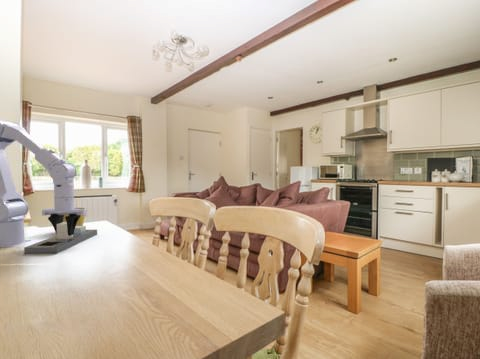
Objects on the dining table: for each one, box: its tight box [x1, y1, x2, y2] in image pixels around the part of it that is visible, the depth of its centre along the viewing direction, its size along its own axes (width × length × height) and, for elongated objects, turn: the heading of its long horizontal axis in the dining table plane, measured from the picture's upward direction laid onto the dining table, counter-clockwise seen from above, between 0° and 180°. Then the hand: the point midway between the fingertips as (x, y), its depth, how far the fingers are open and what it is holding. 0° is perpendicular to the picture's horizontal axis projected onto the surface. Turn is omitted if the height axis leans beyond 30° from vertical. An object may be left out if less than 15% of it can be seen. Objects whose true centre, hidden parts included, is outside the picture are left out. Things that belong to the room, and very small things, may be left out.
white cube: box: [74, 225, 87, 234], centre depth 101 cm, size 4×4×4 cm
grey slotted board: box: [23, 229, 98, 255], centre depth 93 cm, size 10×24×2 cm, turn 1°
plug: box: [56, 222, 73, 239], centre depth 93 cm, size 4×4×7 cm
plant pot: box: [63, 207, 87, 226], centre depth 112 cm, size 10×10×10 cm
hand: (65, 235), depth 93 cm, fingers closed on plug, 3 cm apart
